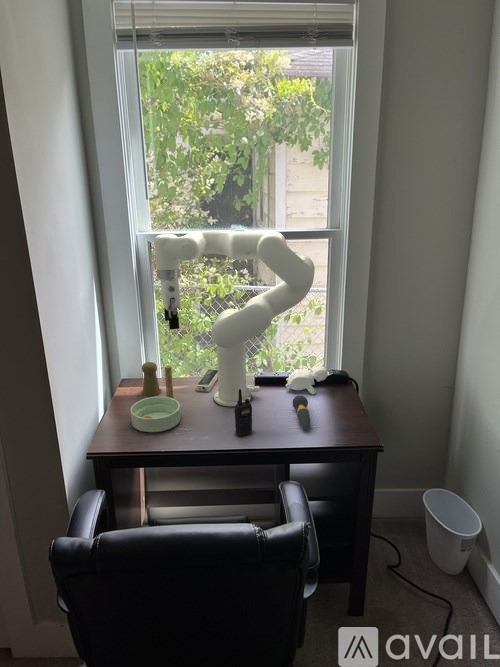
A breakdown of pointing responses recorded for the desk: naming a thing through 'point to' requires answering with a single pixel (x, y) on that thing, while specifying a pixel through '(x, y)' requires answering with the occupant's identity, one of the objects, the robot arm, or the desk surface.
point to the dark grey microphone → (302, 411)
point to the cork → (150, 379)
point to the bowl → (155, 414)
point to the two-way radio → (243, 416)
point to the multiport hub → (207, 381)
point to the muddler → (169, 381)
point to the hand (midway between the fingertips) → (172, 324)
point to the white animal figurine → (305, 378)
